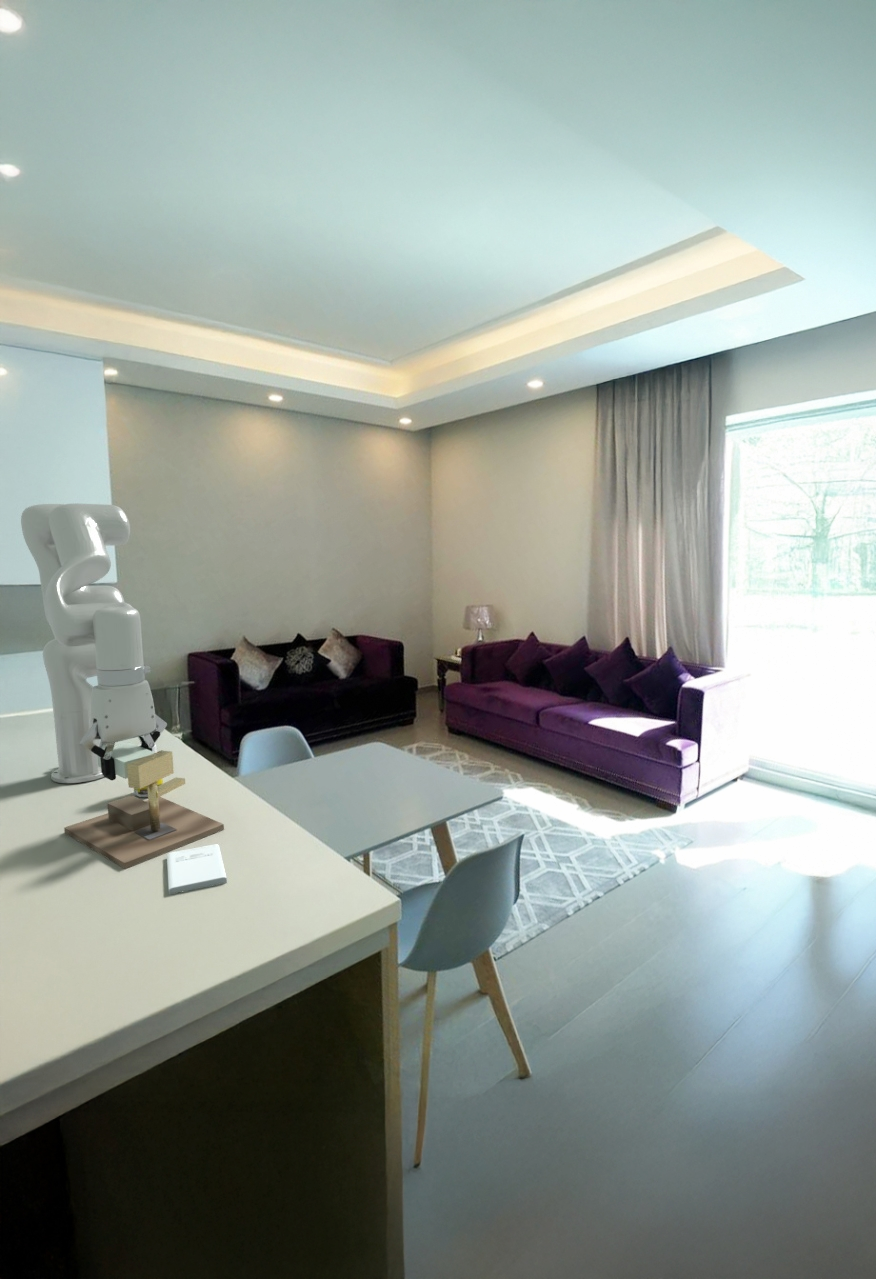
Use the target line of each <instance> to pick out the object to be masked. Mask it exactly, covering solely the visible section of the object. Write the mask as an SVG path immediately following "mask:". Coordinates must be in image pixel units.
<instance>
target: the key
mask: <svg viewBox="0 0 876 1279" xmlns="http://www.w3.org/2000/svg"><path fill="white" fill-rule="evenodd" d="M174 771H175V770H174V760H173V751H170V750H162V749H161V750H159V751H157V752H156V753H154V754H151V755H149V756H147V757H144V758H142V759H139V760H137V761H134V762H132V763H130V764H127V772H128V778H127V783H128V788H132V789H134V788H137V789H141V788H143V787H145V786H147V789H148V797H147V800H148V802H149V815H150V828H151V830H158V829H160V814H159V801H158V797H162V796H164V795H166V794H168V793H169V792H172V791H174V790H176V789H178V788H179V787H182V786H184V785H185V784H186V778H185V777H184V778H183V777H178V776H177V777H174V778H172V779H169V780H168V781H166V782H163V784H161V785H159V786H157V781H158V780H160V779H162V778H163V779H164V778H166V777H168V776H170V775H173V774H174V773H175V772H174Z"/></svg>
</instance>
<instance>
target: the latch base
mask: <svg viewBox="0 0 876 1279" xmlns="http://www.w3.org/2000/svg"><path fill="white" fill-rule="evenodd" d="M158 801H159V814H160V829H158V830H151V828H150V815H149V802H148V799H147V800H143V799H140V798H138V796H134V795H129V796H125V797H122V798H119V799H116V800H113V801H109V802H107V813H104V814H101V815H98V816H96V817H92V818H89V819H87V820H83V821H80V822H76V823H74V824H71V825H68V826H65V827H63V830H64V833H65V834H66V835H67V836H69V837H71V838H73V839H74V840H75V841H78V842H79V843H81V844H83V845H84V846H86V847H87V848H89V849H90V850H93V851H95V852H96V853H97V854H99V855H101V856H102V857H104V858H106V859H107V860H109V861H112V863H115V864H116V865H118V866H119V867H121V868H123V869H124V870H126V869H129V868H131V867H134V866H136V865H139V864H142V863H144V862H147V861H149V860H152V859H154V858H157V857H159V856H161V855H164V854H166V853H170V852H172V851H173V850H176V849H180V848H181V847H183V846H186V845H189V844H191V843H194V842H196V841H199V840H202V839H204V838H206V837H208V835H209V836H211V835H214V834H216V833H219V832H221V831H223V829H224V830H225V824H224V823H222V822H219V821H217V820H214V819H212V818H210V817H208V816H206V815H203V814H200V813H198V812H196V811H195V810H191V809H190V808H187V807H185V806H182V805H180V804H178V803H175V802H174V801H171V800H169V799H166V798H164V797H162V796H160V797H158ZM218 831H219V832H218ZM213 833H214V834H213ZM198 839H199V840H198Z"/></svg>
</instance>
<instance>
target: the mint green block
mask: <svg viewBox="0 0 876 1279" xmlns="http://www.w3.org/2000/svg"><path fill="white" fill-rule="evenodd" d="M138 745H139V744H135V743H133V742H124V743H119V744H116V745H114V748H113V752H112V755H111V757H112V758H113V759H114V763H115V774H116V776H119V777H121V778H123V779H128V772H127V764H130V763H132V762H134V761H137V760H139V759H142V758H144V757H147V756H149V755H151V754H154V753H155V752H153V751H150V750H148V749H145V748H143V747H140V746H138ZM97 758H98V766H99V767H101V760H100V757H99V756H97Z"/></svg>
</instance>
